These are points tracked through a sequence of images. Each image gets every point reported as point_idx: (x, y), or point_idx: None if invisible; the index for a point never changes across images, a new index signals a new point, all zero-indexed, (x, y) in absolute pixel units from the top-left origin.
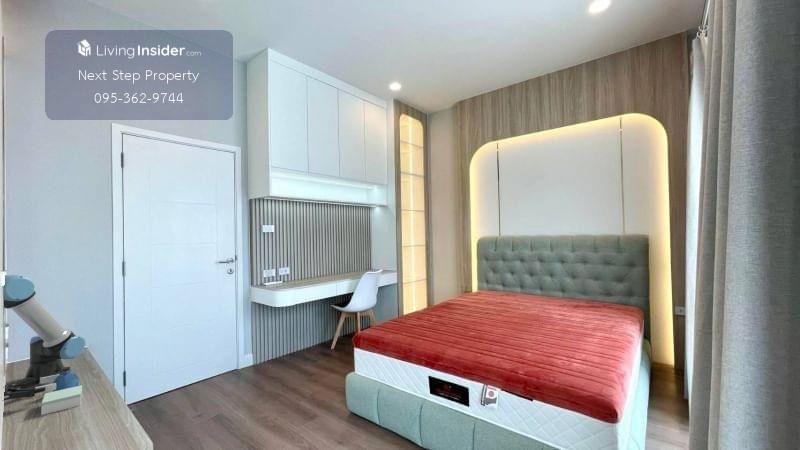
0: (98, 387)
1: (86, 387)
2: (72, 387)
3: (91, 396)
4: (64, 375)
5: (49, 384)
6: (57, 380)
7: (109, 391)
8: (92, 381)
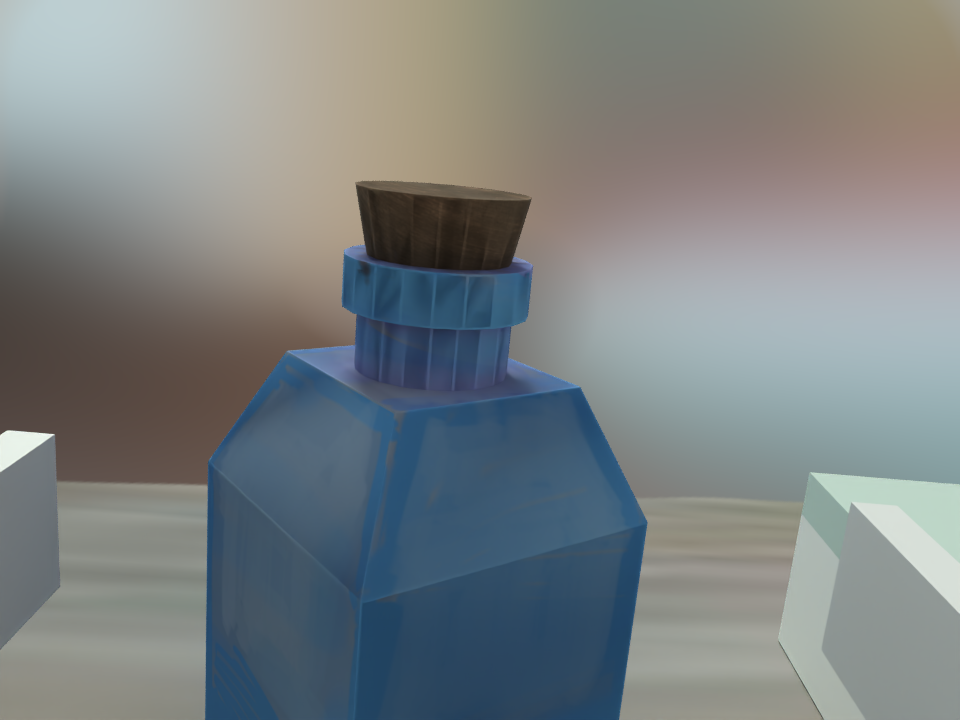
0: None
1: None
2: None
3: None
4: (505, 371)
5: (918, 565)
6: (463, 515)
7: (773, 506)
8: (155, 535)
